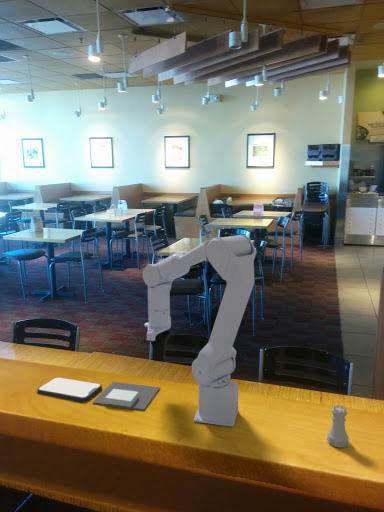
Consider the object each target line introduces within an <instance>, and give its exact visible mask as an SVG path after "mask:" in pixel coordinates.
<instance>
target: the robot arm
mask: <svg viewBox="0 0 384 512" xmlns="http://www.w3.org/2000/svg"><path fill="white" fill-rule="evenodd" d="M256 254H257V249H256V247H255V245H254V243H253V241H252V240H251V238H250V237H249V236H248V235H246V234H237V235H230V236H224V237H216V236H215V237H212V238H211V239H209V240H205V241H204V242H202V243H200V244H199V245H197V246H196V247H193V248H192V249H191V250H188V251H187V252H185V253H181V252H177V251H172V252H169V255H168V257H165V258H161V259H159V260H157V262H156V263H153V264H151V263H147V265H146V266H145V267H144V268H143V270H142V280H143V281H144V283H145V285H146V286H147V310H148V313H147V314H148V315H147V316H148V322H145V323H144V324H143V325H144V327H145V328H147V332H146V341H149V342H150V344H151V346H152V350H153V354H154V357H155V359H161V360H162V359H164V358H165V355H166V350H167V345H168V341H169V339H170V336H171V335H172V329H171V327H172V320H171V319H172V317H171V301H170V300H171V299H170V298H171V297H170V294H171V293H170V291H171V289H172V284H173V281H174V280H175V279H178V278H180V277H182V276H185V275H187V274H188V273H189V272H190V268H191V267H193V266H194V265H196V264H199V263H202V262H204V261H205V262H209V263H210V265H211V266H212V268H214V270H215V271H216V272H217V273H218V275H219V276H220V277H221V279H222V280H224V281H225V282H226V286H225V289H224V292H223V296H222V299H221V302H220V305H219V308H218V312H217V313H216V314H217V315H216V318H215V321H214V324H213V328H212V331H211V334H210V337H209V339H208V342H207V343H206V345H204V346H203V348H202V349H200V351H199V353H198V356H197V357H196V358H195V359H194V360H193V361H192V363H191V369H190V370H191V375H192V377H193V378H194V380H195V381H196V383H197V384H198V409H197V411H196V413H195V416H194V417H193V421H194V422H196V423H201V424H202V423H203V424H210V425H219V426H225V427H232V428H233V427H234V426H235V423H236V421H237V420H236V419H237V417H238V414H239V383H238V382H236V381H232V380H231V374H232V373H234V371H235V369H236V364H237V363H236V355H237V353H238V351H236V349H235V347H234V343H235V340H236V337H237V334H238V331H239V328H240V325H241V322H242V320H243V316H244V313H245V311H246V308H247V305H248V302H249V300H250V296H251V294H252V291H253V289H254V288H253V287H254V283H255V267H254V261H255V258H256Z"/></svg>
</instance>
